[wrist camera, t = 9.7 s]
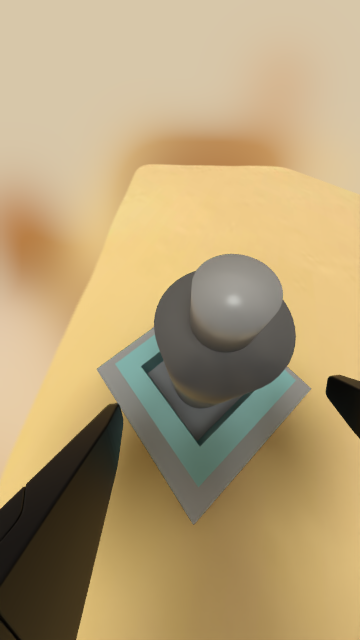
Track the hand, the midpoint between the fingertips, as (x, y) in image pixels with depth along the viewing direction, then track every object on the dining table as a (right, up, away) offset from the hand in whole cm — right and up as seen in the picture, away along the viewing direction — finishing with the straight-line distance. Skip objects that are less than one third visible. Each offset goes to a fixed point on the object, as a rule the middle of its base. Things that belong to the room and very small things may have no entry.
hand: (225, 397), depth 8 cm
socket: (0, -3, +10) cm, 11 cm away
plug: (0, -2, +9) cm, 10 cm away
